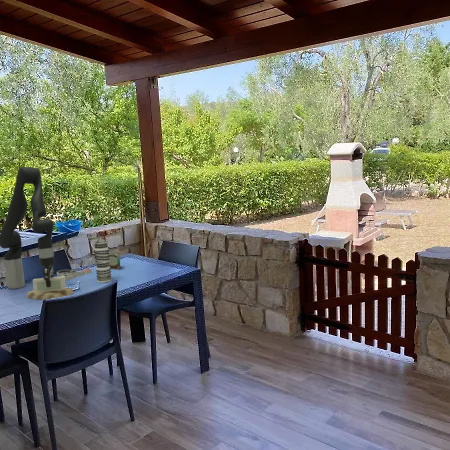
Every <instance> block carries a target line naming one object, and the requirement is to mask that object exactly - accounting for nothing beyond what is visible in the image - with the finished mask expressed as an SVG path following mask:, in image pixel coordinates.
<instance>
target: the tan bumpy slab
mask: <svg viewBox="0 0 450 450" xmlns="http://www.w3.org/2000/svg"><path fill="white" fill-rule="evenodd" d="M68 295H70V296H72V295H74V288H70V287H66V289H65V290H59V291H49V292H39V293H34V290H31V291H28V292H27V298H28V299H34V300H43V301H45V300H44V299H51V298H58V297H63V296H67V297H69V296H68Z"/></svg>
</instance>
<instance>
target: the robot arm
mask: <svg viewBox="0 0 450 450" xmlns="http://www.w3.org/2000/svg"><path fill="white" fill-rule="evenodd" d="M42 183H43V182H42V175H41V171H40V170H39V169H38V168H36V167H31V166H20V167H19V168H18V171H17V174H16V179H15V184H14V189H13V193H12V196H11V200H10V203H9V206H8V210H7V214H6V217H5V221H4V223H3V226H2V228H1V231H0V247H1V249H3V250H5V249H8V250H7V252H6V253H5V254H4V255H3V261H4V267H5V271H4V277H5V283H6V288H7V289H12V290H15V289H20V288H23V287H24V286H26V284H25V275H24V267H23V261H22V260H23V259H22V253H23V246H22V243H23V242H22V237H21V234H20V233H19V232H18V231H16V228H17V227H18V225H19V224H20V223H21V222H22V221H23V219H24V218H25V217H26V214H27V212H28V211H27V210H28V207H29V205H30V210H31V214H32V225H31V229H32V231H33V232H34V233H35V234H42V233H43V234H44V233H45V235H42V236H40V237H39V238H38V239H37V247H38V257H39V265H40V267H41V266H42V267H44V268H43V270H42V272H43V278H44V280H45V281H46V287H51V282H50V277H54V271H55V270H54V265H55V264H56V260H55V253H54V248H53V231H54V221H53V220H52V219H51V218H44V217H45V216H47V209H46V206H45V201H44V195H43V184H42ZM25 184H28V185H32V186H33V189H34V191H33V193H32V195H31V198H30V200H29V201H30V203H28V200H27V198H26V196H25V191H24V188H25ZM28 204H29V205H28ZM41 218H42V219H41ZM43 218H44V219H43Z"/></svg>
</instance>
